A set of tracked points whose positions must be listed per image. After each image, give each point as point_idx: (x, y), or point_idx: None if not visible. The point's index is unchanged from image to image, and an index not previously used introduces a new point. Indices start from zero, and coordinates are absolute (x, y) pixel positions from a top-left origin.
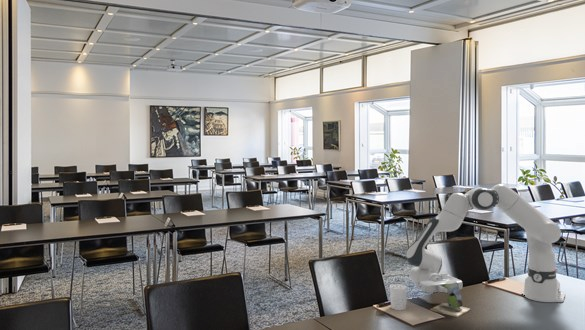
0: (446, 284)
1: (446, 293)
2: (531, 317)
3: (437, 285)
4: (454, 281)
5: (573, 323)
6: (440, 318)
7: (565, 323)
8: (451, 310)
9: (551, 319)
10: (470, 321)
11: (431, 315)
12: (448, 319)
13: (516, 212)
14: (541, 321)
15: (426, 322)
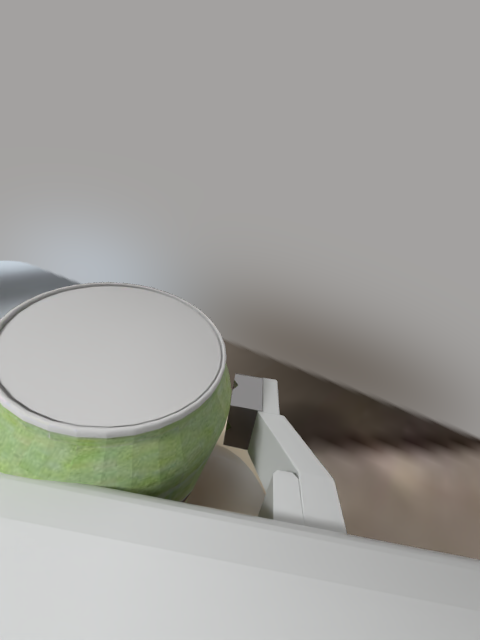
0: (219, 381)
1: (189, 495)
2: (17, 300)
3: (363, 545)
4: (70, 305)
5: (18, 263)
6: (342, 441)
7: (30, 268)
8: (204, 488)
9: (7, 280)
10: (232, 362)
11: (385, 510)
12: (307, 413)
13: None
14: (49, 286)
15: (433, 437)
